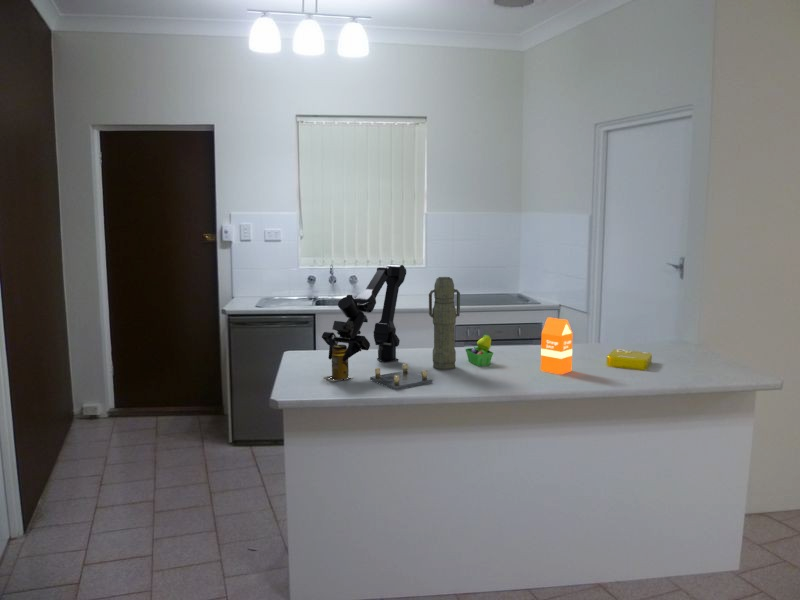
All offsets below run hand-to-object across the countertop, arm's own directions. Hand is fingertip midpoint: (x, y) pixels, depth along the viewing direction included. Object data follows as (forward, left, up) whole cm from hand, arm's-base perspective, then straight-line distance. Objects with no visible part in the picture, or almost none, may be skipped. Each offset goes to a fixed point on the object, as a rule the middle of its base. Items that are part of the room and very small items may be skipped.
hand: (336, 359), depth 244 cm
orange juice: (-73, +38, -7) cm, 83 cm away
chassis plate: (-17, +16, -7) cm, 25 cm away
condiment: (-1, -1, -7) cm, 8 cm away
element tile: (-104, +48, -8) cm, 115 cm away
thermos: (-42, +9, -7) cm, 44 cm away
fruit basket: (-58, +12, -7) cm, 60 cm away
